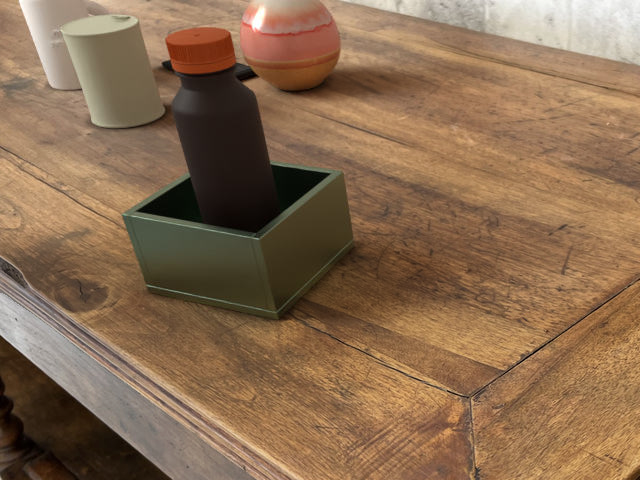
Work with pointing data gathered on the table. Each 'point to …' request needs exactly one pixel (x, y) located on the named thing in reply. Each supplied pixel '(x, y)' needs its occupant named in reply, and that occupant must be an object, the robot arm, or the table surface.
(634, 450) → the table surface
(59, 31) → the mug
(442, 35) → the table surface
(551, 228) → the table surface
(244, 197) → the vinegar
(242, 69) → the smartphone
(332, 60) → the vase
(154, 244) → the green open box
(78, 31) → the can
